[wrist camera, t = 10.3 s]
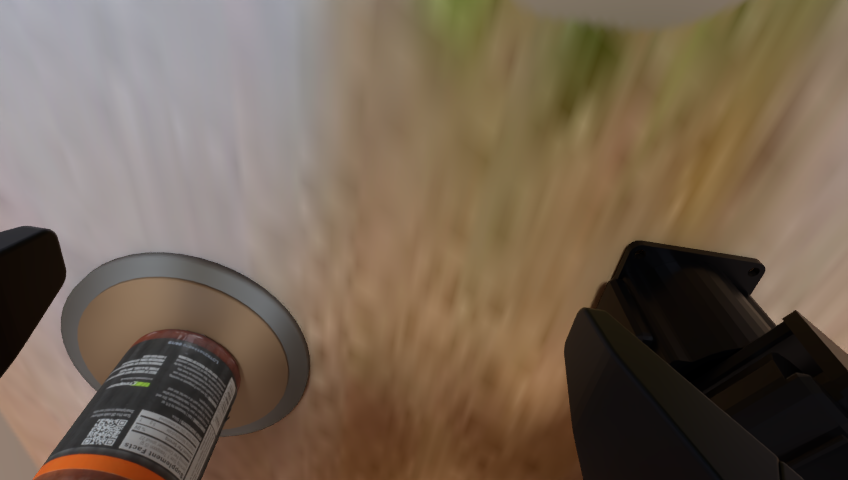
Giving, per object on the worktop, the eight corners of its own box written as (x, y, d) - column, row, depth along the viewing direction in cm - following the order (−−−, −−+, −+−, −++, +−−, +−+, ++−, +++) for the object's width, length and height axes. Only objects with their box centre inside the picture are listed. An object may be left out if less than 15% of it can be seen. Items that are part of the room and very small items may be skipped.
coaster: (315, 274, 24) (311, 285, 24) (305, 440, 31) (302, 452, 30) (42, 233, 24) (29, 243, 23) (92, 413, 30) (83, 425, 30)
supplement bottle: (185, 414, 29) (58, 655, 19) (107, 347, 26) (-86, 587, 17) (267, 382, 27) (173, 626, 18) (193, 306, 25) (35, 546, 15)
